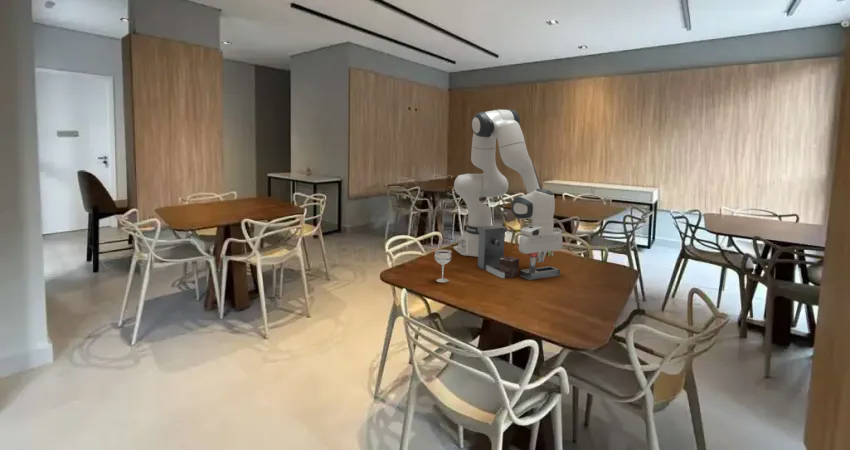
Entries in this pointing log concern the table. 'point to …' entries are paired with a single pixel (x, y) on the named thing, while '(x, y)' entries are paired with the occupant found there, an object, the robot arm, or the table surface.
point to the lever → (532, 262)
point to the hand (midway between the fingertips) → (540, 261)
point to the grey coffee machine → (491, 248)
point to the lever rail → (540, 273)
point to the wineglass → (442, 260)
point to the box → (509, 266)
